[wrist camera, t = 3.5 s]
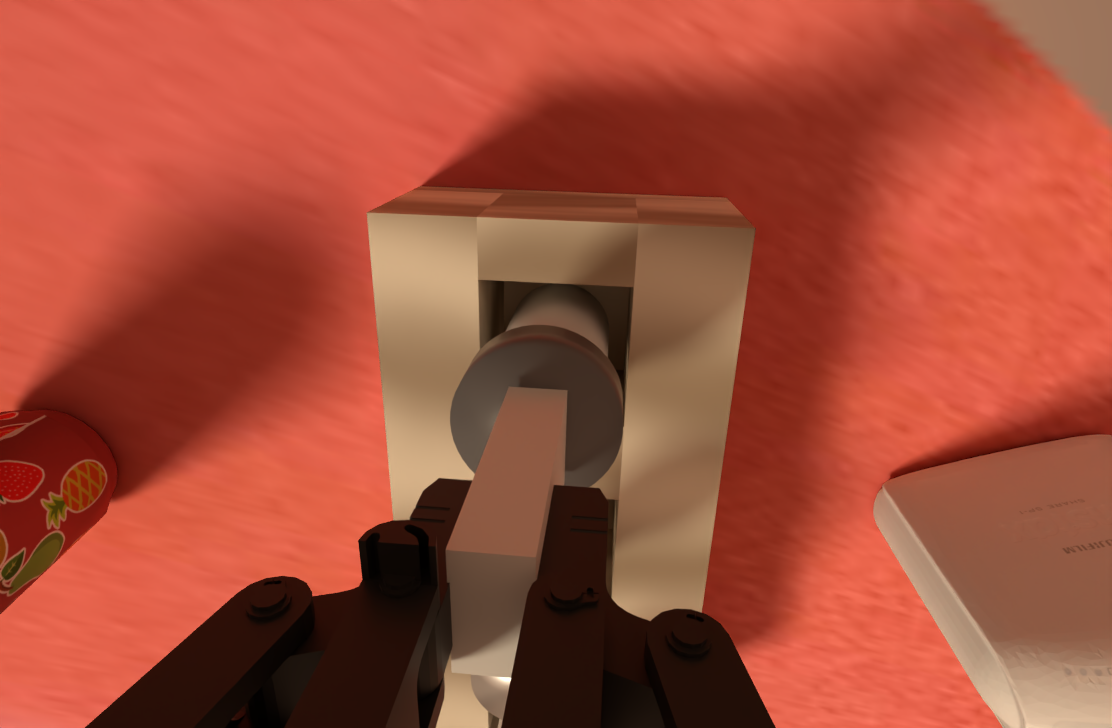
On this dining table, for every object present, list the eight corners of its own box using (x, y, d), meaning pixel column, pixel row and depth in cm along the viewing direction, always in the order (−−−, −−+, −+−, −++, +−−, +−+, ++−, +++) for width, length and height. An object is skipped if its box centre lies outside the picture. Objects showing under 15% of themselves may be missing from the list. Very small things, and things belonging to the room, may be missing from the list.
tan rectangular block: (420, 186, 26) (366, 212, 21) (726, 197, 25) (755, 228, 20) (446, 657, 36) (414, 760, 30) (668, 677, 35) (677, 788, 30)
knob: (498, 266, 24) (446, 340, 17) (626, 272, 23) (628, 351, 16) (499, 382, 26) (453, 494, 19) (618, 390, 25) (617, 506, 18)
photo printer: (1122, 416, 27) (1477, 651, 16) (1124, 501, 29) (1450, 771, 17) (863, 471, 29) (1015, 713, 18) (877, 548, 31) (1025, 816, 20)
